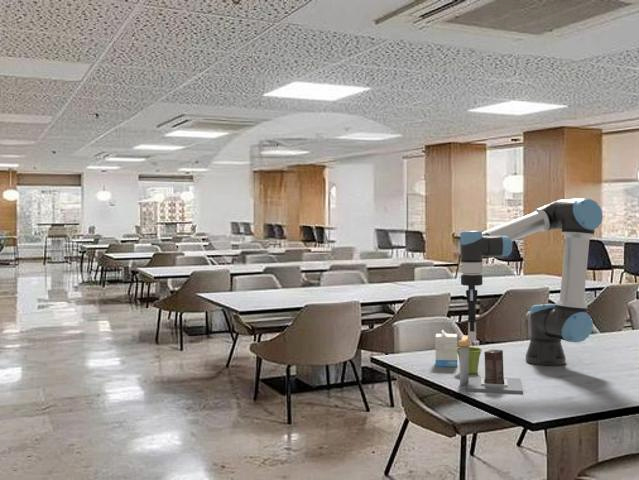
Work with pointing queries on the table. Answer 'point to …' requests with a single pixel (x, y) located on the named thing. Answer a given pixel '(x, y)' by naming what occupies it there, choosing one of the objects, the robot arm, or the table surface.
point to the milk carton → (446, 349)
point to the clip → (464, 341)
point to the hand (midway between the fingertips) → (472, 340)
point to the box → (494, 367)
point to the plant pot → (472, 358)
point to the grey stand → (479, 382)
